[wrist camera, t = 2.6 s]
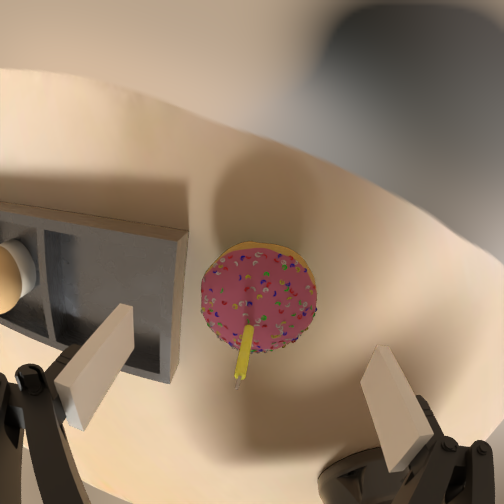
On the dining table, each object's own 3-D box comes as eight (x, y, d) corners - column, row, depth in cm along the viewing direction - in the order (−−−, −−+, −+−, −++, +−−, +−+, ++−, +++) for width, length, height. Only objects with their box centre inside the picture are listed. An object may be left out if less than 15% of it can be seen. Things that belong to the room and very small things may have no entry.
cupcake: (281, 333, 28) (286, 432, 16) (196, 297, 27) (154, 384, 16) (326, 254, 25) (368, 326, 14) (234, 211, 25) (206, 255, 13)
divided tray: (188, 230, 25) (177, 241, 22) (178, 362, 29) (170, 384, 26) (-14, 199, 25) (-33, 204, 22) (-3, 303, 29) (-18, 314, 26)
